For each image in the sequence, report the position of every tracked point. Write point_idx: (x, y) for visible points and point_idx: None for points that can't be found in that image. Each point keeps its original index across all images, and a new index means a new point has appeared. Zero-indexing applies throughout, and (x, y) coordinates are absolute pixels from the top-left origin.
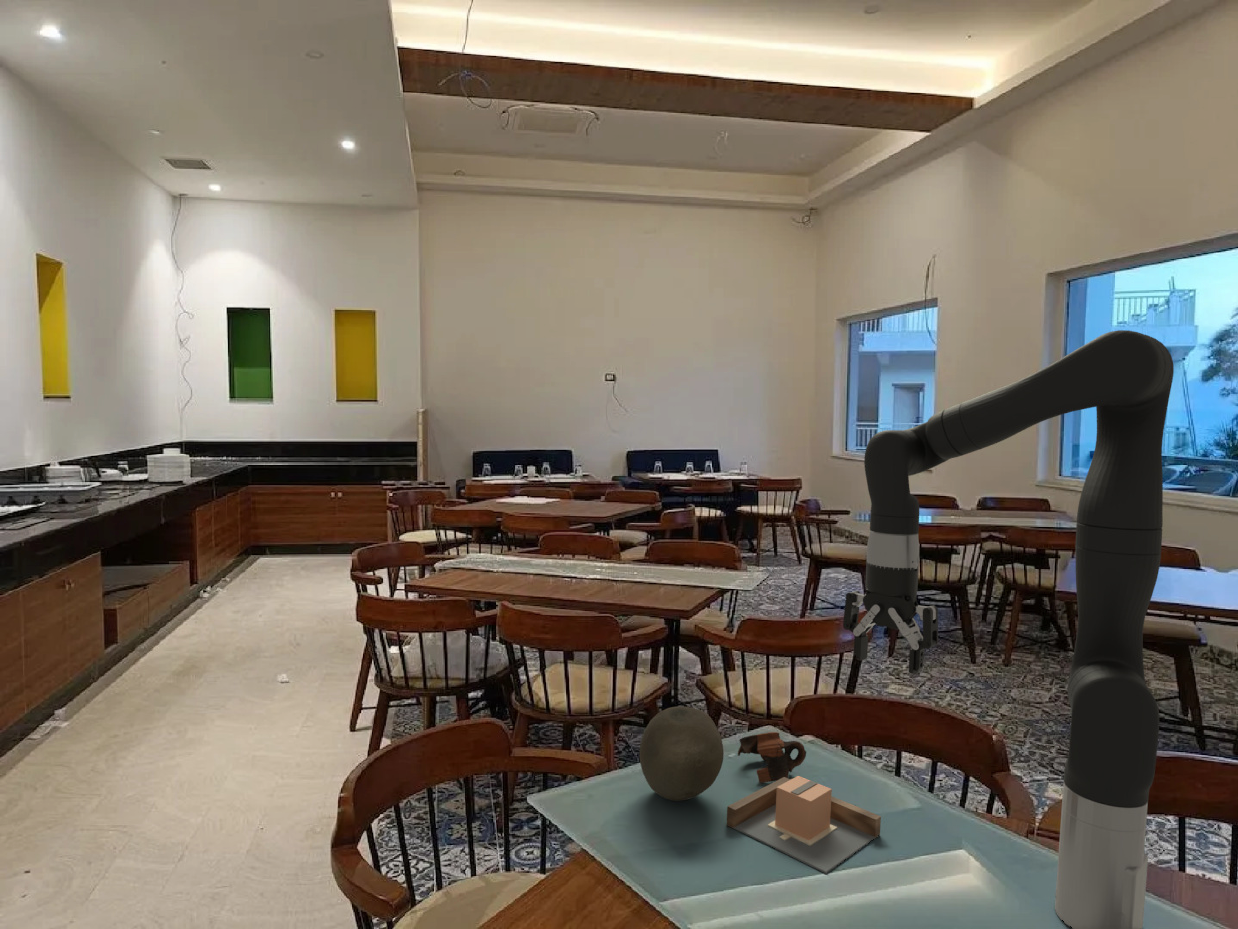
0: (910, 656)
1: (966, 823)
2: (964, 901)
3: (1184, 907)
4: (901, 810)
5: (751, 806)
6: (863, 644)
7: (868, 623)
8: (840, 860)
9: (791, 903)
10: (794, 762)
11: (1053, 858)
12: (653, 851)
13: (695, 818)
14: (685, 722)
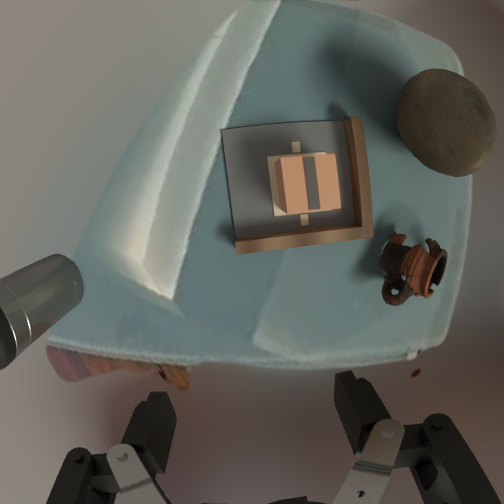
0: (147, 426)
1: (202, 347)
2: (117, 213)
3: (57, 347)
4: (258, 317)
5: (353, 150)
6: (350, 417)
7: (344, 486)
8: (226, 160)
9: (210, 68)
10: (387, 282)
11: (125, 347)
12: (349, 38)
13: (379, 109)
14: (460, 91)
